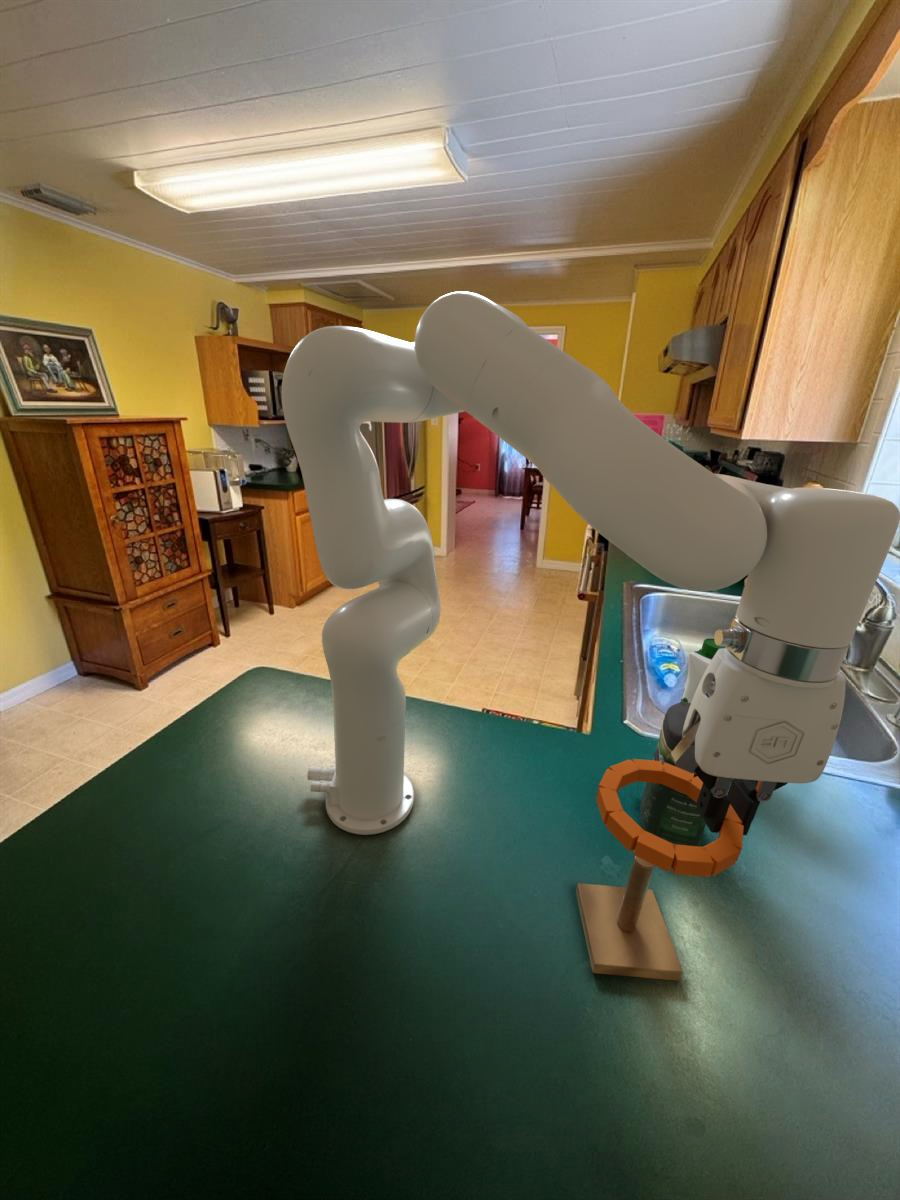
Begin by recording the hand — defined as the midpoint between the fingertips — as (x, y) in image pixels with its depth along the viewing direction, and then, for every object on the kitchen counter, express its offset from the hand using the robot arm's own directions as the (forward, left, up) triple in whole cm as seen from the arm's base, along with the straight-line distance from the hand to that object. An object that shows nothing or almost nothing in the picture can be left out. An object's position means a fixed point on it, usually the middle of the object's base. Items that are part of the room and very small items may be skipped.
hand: (721, 820), depth 44 cm
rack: (-5, +2, -19) cm, 20 cm away
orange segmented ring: (-5, 0, 0) cm, 5 cm away
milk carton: (+18, +36, -19) cm, 44 cm away
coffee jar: (+6, +18, -19) cm, 27 cm away
